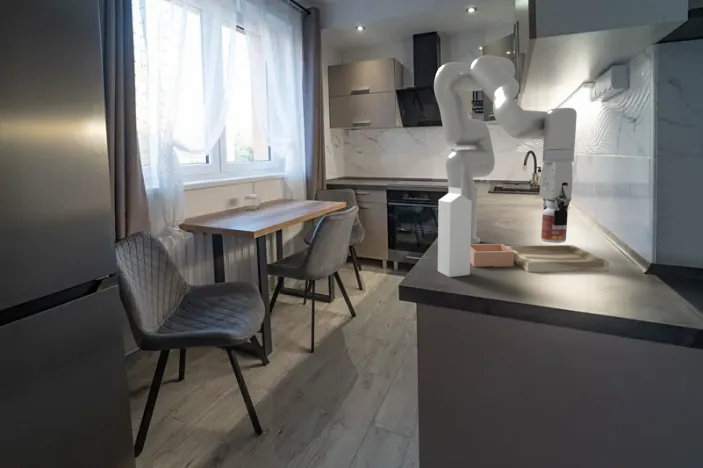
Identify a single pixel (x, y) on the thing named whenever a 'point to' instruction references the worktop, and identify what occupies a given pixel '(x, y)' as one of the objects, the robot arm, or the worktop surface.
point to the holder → (491, 255)
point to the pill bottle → (552, 225)
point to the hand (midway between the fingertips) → (554, 222)
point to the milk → (454, 233)
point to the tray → (557, 259)
